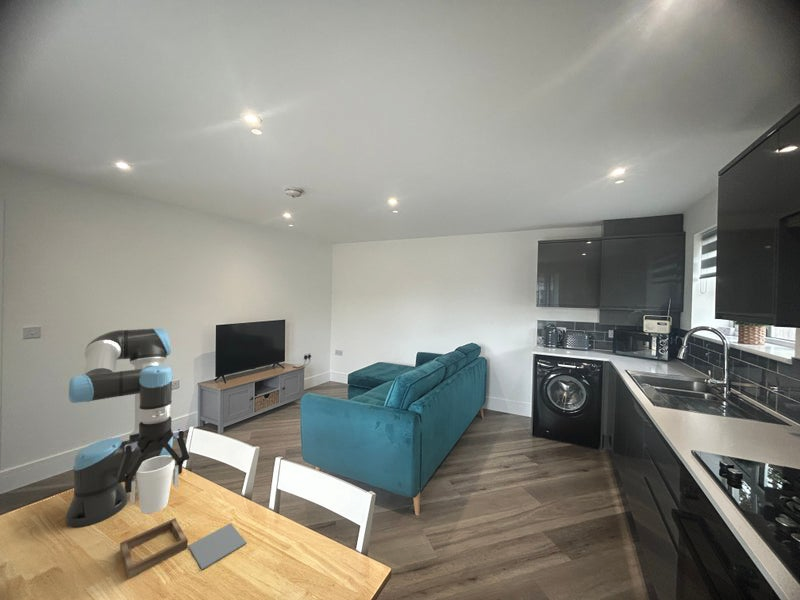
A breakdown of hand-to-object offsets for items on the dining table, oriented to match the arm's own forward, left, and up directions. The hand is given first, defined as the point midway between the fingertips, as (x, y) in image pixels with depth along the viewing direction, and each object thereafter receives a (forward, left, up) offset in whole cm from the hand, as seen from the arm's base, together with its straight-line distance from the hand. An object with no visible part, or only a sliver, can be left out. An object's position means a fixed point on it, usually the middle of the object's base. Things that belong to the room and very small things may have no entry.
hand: (154, 492), depth 90 cm
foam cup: (0, 0, -4) cm, 4 cm away
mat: (+13, +13, -17) cm, 25 cm away
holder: (0, 0, -17) cm, 17 cm away
